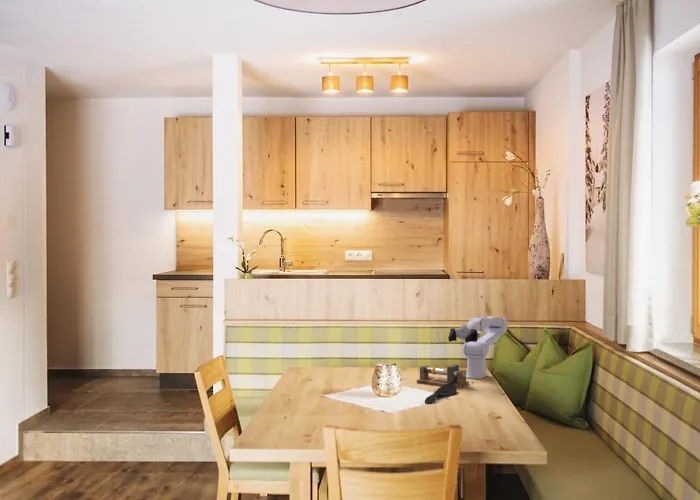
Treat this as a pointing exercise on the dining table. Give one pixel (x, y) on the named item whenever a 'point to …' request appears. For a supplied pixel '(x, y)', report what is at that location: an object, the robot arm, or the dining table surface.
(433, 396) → the hairbrush
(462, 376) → the pipe stand
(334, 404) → the dining table surface
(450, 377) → the collar
